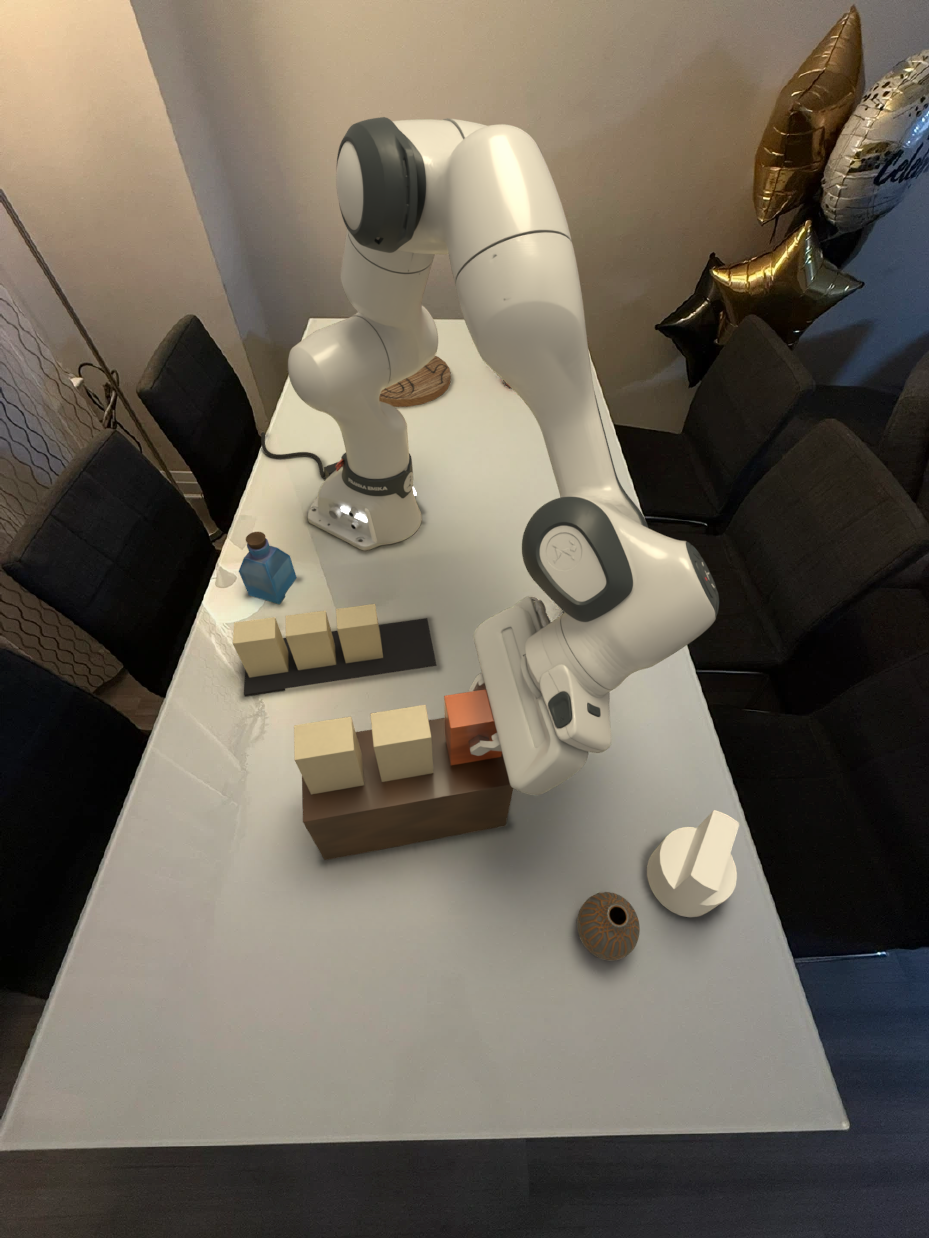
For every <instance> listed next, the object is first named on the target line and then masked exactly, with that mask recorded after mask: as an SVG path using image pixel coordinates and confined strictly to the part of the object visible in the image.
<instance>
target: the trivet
mask: <svg viewBox="0 0 929 1238" xmlns="http://www.w3.org/2000/svg"><path fill="white" fill-rule="evenodd" d="M450 384H451V369H450V367H449V365H448V363H447V362H446V361H444V360H443V359H442V358H441V357H440V356H437V355H435V357H434V358H433V359H432V360H431V361H430V362H429V363H427V364H426V365H425V366H424V367H423V368H422V369H420V370H419V371H418V372H416V373H415V374H414V375H412V376H410V377H408V378H406V379H404V380H402V381H399V382H397V383H395V384H393V385H391V386H389V387H387V388H385V389H384V390H382V391H381V393H380V396H379V401H380V402H384V403H387V404H390V405H392V406H394V407H395V408H397V407H398V408H402V407H404V408H405V407H414V406H419V405H423V404H427V403H429V402H432V401H435V400H436V399H437V398H440V397H441V396H443V395H444V394H445V393H446V391H447V390H448V389H449V387H450Z"/></svg>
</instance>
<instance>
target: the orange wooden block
mask: <svg viewBox="0 0 929 1238" xmlns="http://www.w3.org/2000/svg"><path fill="white" fill-rule="evenodd" d="M443 704H444V705H443V706H444V707H443V708H444V718H445V738H446V743H447V748H448V754H449V759H450V764H451V765H457V764H463V763H468V762H474V761H480V760H486V759H491V758H497V757H501V755H502V751H492V750H490V751H488V752H487V753H485V754H483V755H481V756H476V755H473V754H471V752H470V747H469V742H468V741H469V740H470V739H473V737H475V736H477V735H481V736H483V737H487V738H489V740H490V741H493V740H492V735H494V734H495V733H497V730H496V726H495V722H494V718H493V714H492V710H491V706H490V702H489V698H488V694H487V690H486V689H484V690H478V691H472V692H468V691H466V692H460V693H454V694H446V695H444V696H443Z"/></svg>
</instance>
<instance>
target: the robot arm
mask: <svg viewBox="0 0 929 1238" xmlns="http://www.w3.org/2000/svg"><path fill="white" fill-rule="evenodd" d="M335 171H336V173H335V188H336V195H337V200H338V205H339V210H340V214H341V218H342V221H343V223H344V226H345V227H346V231H345V239H344V246H343V253H342V259H341V268H340V275H339V277H340V283H341V287H342V290H343V292H344V294H345V295H344V296H345V297H346V299H347V301H348V302H349V304H350V305H351V306H352V307H353V308H354V309H355V310H356V311H357V312H356V313H354V314H352V315H351V316H349V317H346V318H344V319H342V320H339V321H337V322H335V323H332V324H330V325H326V326H325V327H322V328H319V329H317V330H314V331H313V332H312V333H310V334H309V335H307V336H306V337H305V338H303V339H302V340H300V341H299V342H297V344H295V345H294V346H293V347H292V348H291V349H290V350H289V353H288V358H287V373H288V379H289V381H290V384H291V386H292V389H293V390H294V392H295V394H296V395H297V396H298V398H299V399H300V400H301V401H302V402H303V403H304V404H306V405H307V406H309V407H310V408H311V409H313V410H316V411H318V412H320V413H324V414H325V415H326V414H327V415H329V416H330V417H331V418H332V419H333V420H334V421H335V422H336V424H337V426H338V427H339V431H340V432H341V436H342V441H343V444H344V450H345V452H344V453H343V454H342V455H341V456H340V458H341V459H340V460H339V461H337V462H333V463H332V464H328V465H326V466H323V462H322V459H320V457H319V456H318V455H317V454H315V453H313V452H309V451H297V452H290V453H283V454H277V453H273V452H270V451H269V450H268V449H267V445H266V432H264V431H262V432H261V433H260V444H261V445H260V446H261V448H262V451H263V453H264V454H265V455H266V456H267V457H270V458H274V459H289V458H295V457H311V458H312V459H314V460H316V462H317V465H318V470H319V474H320V477H322V478H324V479H325V480H324V481H323V483H322V484H321V486H320V487H319V490H318V492H317V496H316V498H315V499H314V500H313V502H312V503H311V504H310V506H309V509H308V513H307V520H308V523H310V524H311V525H313V526H315V527H317V528H318V529H321V530H323V531H324V532H326V533H329V534H330V535H333V536H334V537H336V538H338V539H340V540H341V541H344V542H346V543H348V544H349V545H351V546H353V547H355V548H357V549H358V550H362V551H370V550H372V549H375V548H377V547H379V546H383V545H385V546H386V545H392V544H397V543H400V542H402V541H405V540H407V539H409V538H410V537H411V536H413V535H414V534H415V533H416V532H417V531H418V530H419V528H420V526H421V524H422V520H423V516H422V512H421V510H420V508H419V505H418V502H417V500H416V496H417V491H416V489H415V487H414V470H413V469H414V468H413V460H412V459H413V458H412V455H411V453H410V449H409V448H410V447H409V433H408V423H407V421H406V419H405V417H404V415H403V413H402V412H401V411H400V410H399V409H398V408H397V407H394V406H392V405H390V404H387V403H384V402H380V401H379V396H380V393H381V391H382V390H384V389H385V388H387V387H389V386H391V385H393V384H395V383H397V382H399V381H402V380H404V379H406V378H408V377H410V376H412V375H414V374H415V373H416V372H418V371H419V370H420V369H422V368H423V367H424V366H425V365H426V364H427V363H429V362H430V361H431V360H432V359H433V358H434V357H435V356H437V352H438V349H439V348H438V347H439V333H438V327H437V325H436V322H435V319H434V318H433V316H432V315H431V313H430V312H429V310H428V309H427V308H426V307H425V306H424V305H423V299H424V295H425V290H426V287H427V283H428V280H429V276H430V272H431V270H432V266H433V262H434V259H435V256H436V255H445V256H446V255H448V257H449V259H448V260H449V264H450V269H451V274H452V279H453V283H454V287H455V291H456V295H457V300H458V303H459V307H460V311H461V314H462V317H463V320H464V323H465V325H466V328H467V331H468V333H469V335H470V338H471V339H472V341H473V344H474V346H475V348H476V350H477V352H478V354H479V356H480V358H481V359H482V361H483V362H484V363H485V364H486V366H488V368H490V369H491V370H492V371H493V372H494V373H495V375H497V376H498V377H499V378H501V380H502V381H504V382H505V384H506V383H507V384H508V385H509V386H508V385H507V384H506V385H507V386H508V387H509V388H511V389H512V390H513V391H514V392H515V393H516V394H517V395H518V396H519V398H520V399H521V400H522V401H523V402H524V404H525V405H526V406H527V407H528V409H529V411H530V412H531V413H532V415H533V417H534V419H535V421H536V423H537V425H538V426H539V429H540V432H541V434H542V437H543V441H544V445H545V448H546V451H547V454H548V458H549V461H550V465H551V469H552V472H553V475H554V479H555V482H556V486H557V489H558V492H559V497H558V498H554V499H552V500H549V501H548V502H546V503H544V504H543V505H542V506H540V507H539V508H538V509H537V510H536V511H535V512H534V513H533V514H532V516H531V517H530V519H529V520H528V522H527V523H526V525H525V527H524V532H523V535H522V539H521V557H522V560H523V564H524V566H525V569H526V571H527V573H528V574H529V576H530V577H531V579H532V581H534V582H535V584H536V585H537V586H538V587H539V588H540V589H541V590H542V591H543V592H544V593H545V594H546V595H547V597H549V599H550V600H551V601H553V603H555V605H556V606H557V607H558V608H560V609H561V610H562V611H563V612H564V613H562V614H561V615H559V616H558V617H556V618H554V620H552V621H551V620H550V619H551V618H549V616H548V614H547V613H548V612H547V608H546V605H545V603H544V602H543V601H542V599H539V598H537V597H536V596H525V597H523V598H522V599H521V600H520V601H518V602H517V603H515V604H514V605H513V606H510V607H507V608H505V609H503V610H501V611H500V612H497V613H495V614H494V615H492V616H491V617H489V618H487V619H486V620H484V621H482V622H481V623H479V624H478V625H477V627H476V628H475V630H474V633H473V635H472V638H473V642H474V646H475V651H476V654H477V659H478V662H479V666H480V671H481V672H480V673H478V674H477V675H476V676H475V678H474V680H473V682H472V683H471V685H470V687H469V689H468V690H467V692H472V691H478V690H484V689H486V690H487V694H488V698H489V702H490V706H491V710H492V714H493V718H494V722H495V726H496V730H497V733H495V734H494V735H492V740H493V741H490V740H489V738H487V737H483V736H481V735H477V736H475V737H473V739H470V740H469V741H468V742H469V747H470V752H471V754H473V755H476V756H481V755H483V754H485V753H487V752H488V751H490V750H492V751H502V754H503V758H504V762H505V766H506V770H507V774H508V778H509V782H510V785H511V787H512V788H514V789H513V790H516V791H517V792H520V793H522V794H527V795H530V796H531V795H532V796H540V795H544V794H545V793H547V792H549V791H551V790H553V789H554V788H557V787H559V785H561V784H563V783H565V781H568V780H569V779H570V778H571V777H573V776H574V775H576V774H577V773H578V772H579V771H581V769H582V768H583V767H584V766H585V764H586V762H587V760H588V757H589V753H593V754H601V753H603V752H605V751H607V750H609V749H610V748H611V745H612V727H611V711H610V710H611V709H610V707H611V705H610V703H611V702H610V701H611V700H610V699H611V697H610V695H611V694H610V692H612V691H613V690H615V689H617V688H618V687H620V685H622V683H624V681H625V680H626V679H627V678H628V677H629V676H631V675H632V674H634V673H636V672H639V671H641V670H645V669H650V668H652V667H655V666H656V665H658V664H660V663H661V662H663V661H664V660H666V659H668V658H670V657H671V656H673V655H674V654H676V653H677V652H679V651H680V650H682V649H683V648H685V647H686V646H688V645H689V644H691V643H692V642H693V641H695V640H697V638H699V637H700V636H701V635H703V634H704V633H705V632H706V631H707V630H708V629H709V628H710V627H712V625H713V624H714V622H715V621H716V619H717V615H718V613H719V608H720V596H719V592H718V589H717V586H716V582H715V580H714V577H713V576H712V574H711V572H710V570H709V568H708V566H707V564H706V562H705V560H704V558H703V557H702V556H701V554H700V552H699V550H697V548H696V547H695V546H694V545H693V544H691V543H690V541H687V540H679V539H676V538H673V537H669V536H666V535H665V534H662V533H659V532H657V531H655V530H653V529H651V528H649V525H648V522H647V520H646V518H645V516H644V515H643V513H642V511H641V510H640V508H639V507H638V505H636V504H635V502H634V501H633V499H632V498H631V497H630V496H629V495H628V494H627V492H626V491H625V489H624V487H623V486H622V484H621V482H620V480H619V478H618V475H617V472H616V471H617V470H616V469H615V465H614V461H613V457H612V453H611V448H610V446H609V442H608V438H607V435H606V431H605V427H604V423H603V420H602V415H601V411H600V408H599V404H598V400H597V396H596V392H595V388H594V386H595V385H594V382H593V373H592V365H591V359H590V349H589V343H588V336H587V327H586V316H585V310H584V309H585V308H584V300H583V293H582V286H581V280H580V273H579V269H578V267H579V266H578V262H577V257H576V252H575V249H574V244H573V241H572V236H571V232H570V228H569V224H568V220H567V217H566V214H565V211H564V207H563V204H562V201H561V198H560V195H559V192H558V190H557V187H556V183H555V182H554V179H553V176H552V174H551V172H550V169H549V166H548V164H547V162H546V160H545V158H544V155H543V152H542V150H541V148H540V146H539V145H538V143H537V142H536V140H534V138H533V137H532V136H531V135H530V134H529V133H528V132H526V131H525V130H523V129H522V128H520V127H517V126H514V125H512V124H505V123H501V124H498V123H497V124H490V125H486V124H483V123H479V122H474V121H468V120H463V119H456V118H448V117H446V118H443V119H425V118H424V119H421V118H420V119H419V118H418V119H400V120H391V119H390V118H389V117H385V116H381V117H373V118H368V119H364V120H361V121H358V122H355V123H353V124H351V125H350V126H349V128H348V129H347V131H346V132H345V134H344V135H343V137H342V139H341V142H340V143H339V147H338V151H337V157H336V167H335Z"/></svg>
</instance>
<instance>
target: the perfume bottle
mask: <svg viewBox="0 0 929 1238" xmlns="http://www.w3.org/2000/svg"><path fill="white" fill-rule="evenodd" d="M245 543H246V548H247V550H248V552H247V553H246V555H245V556H244V557H243V559H242V560H241V561H242V562H241V563H240V566H239V569H238V574H239V575H240V578H241V580H242V583H243V585H244V588H245V590H246V592H247V595H248V596H249V597H253V598H256V599H261V600H263V601H267V602H269V603H273V604H277V605H281V604H282V602H283V601H284V599H285V598H286V594H287V592H288V591H289V590H290V589H291V587H292V586H293V584H294V582H295V581H296V580H297V579H298V577H297V574H296V571H295V567H294V564H293V562H292V557H291V555H290V554H288V553H287V552H285V551H284V550H283V549H280V548H279V547H276V546H272V545H270V542H269V540H268V538H267V536H266V534H265V533H264V532H262V531H252V532H250V533H248V534H247V536H246V537H245Z"/></svg>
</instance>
